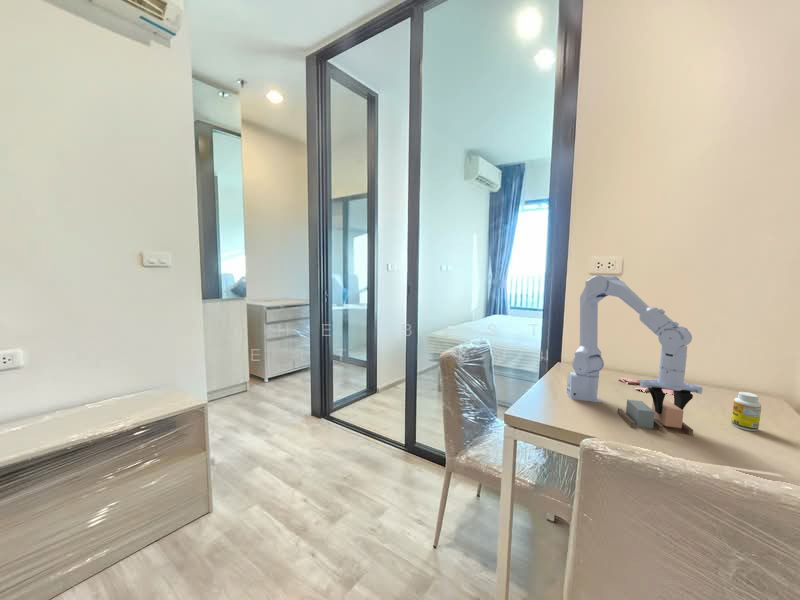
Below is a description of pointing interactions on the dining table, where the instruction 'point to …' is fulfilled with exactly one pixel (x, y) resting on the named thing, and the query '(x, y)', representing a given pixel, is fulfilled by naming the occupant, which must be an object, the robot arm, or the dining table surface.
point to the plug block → (669, 414)
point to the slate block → (640, 413)
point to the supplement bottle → (746, 411)
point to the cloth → (644, 388)
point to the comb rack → (657, 425)
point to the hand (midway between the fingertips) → (667, 413)
